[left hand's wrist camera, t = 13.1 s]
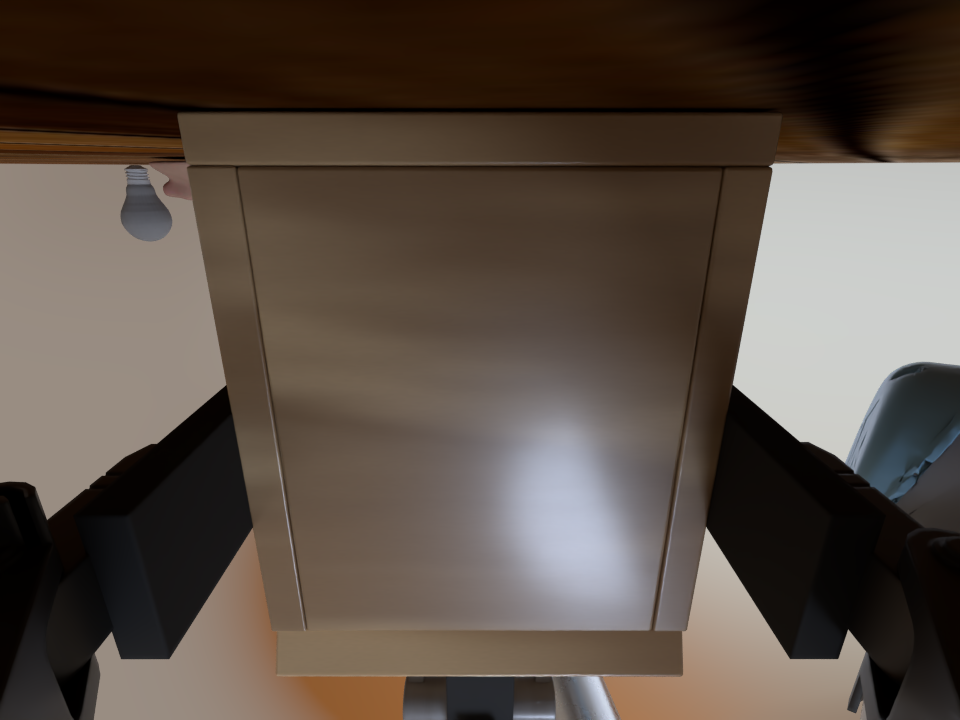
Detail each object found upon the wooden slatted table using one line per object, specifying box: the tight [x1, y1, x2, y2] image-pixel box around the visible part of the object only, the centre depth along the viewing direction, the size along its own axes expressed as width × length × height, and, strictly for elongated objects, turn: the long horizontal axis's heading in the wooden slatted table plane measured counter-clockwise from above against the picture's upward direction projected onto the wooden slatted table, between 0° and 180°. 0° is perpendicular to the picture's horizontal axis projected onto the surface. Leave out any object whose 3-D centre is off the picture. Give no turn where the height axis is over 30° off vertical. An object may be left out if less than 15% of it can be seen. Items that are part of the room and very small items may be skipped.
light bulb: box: [121, 165, 172, 241], centre depth 70 cm, size 6×6×10 cm
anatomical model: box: [149, 161, 192, 200], centre depth 43 cm, size 13×4×12 cm
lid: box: [276, 629, 683, 720], centre depth 19 cm, size 14×10×9 cm
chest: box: [177, 111, 783, 631], centre depth 16 cm, size 13×10×11 cm
